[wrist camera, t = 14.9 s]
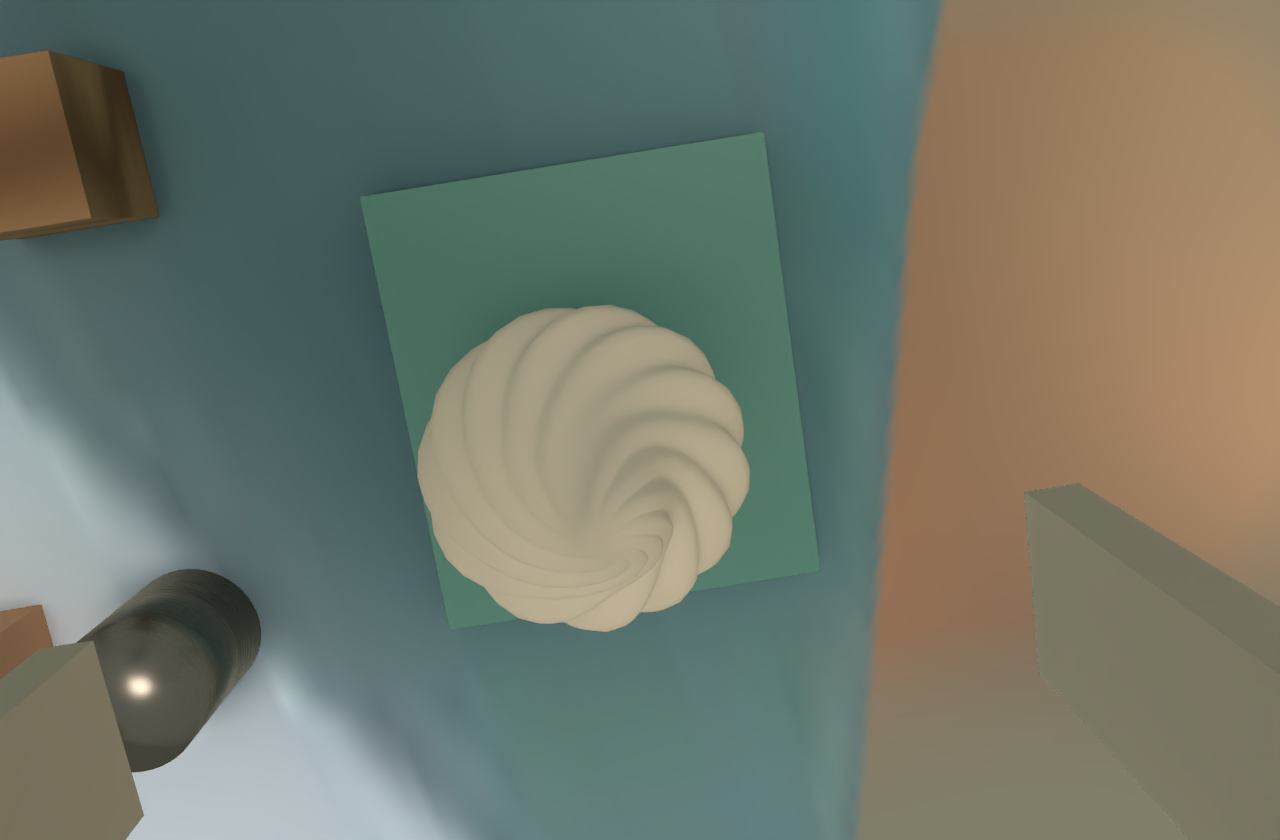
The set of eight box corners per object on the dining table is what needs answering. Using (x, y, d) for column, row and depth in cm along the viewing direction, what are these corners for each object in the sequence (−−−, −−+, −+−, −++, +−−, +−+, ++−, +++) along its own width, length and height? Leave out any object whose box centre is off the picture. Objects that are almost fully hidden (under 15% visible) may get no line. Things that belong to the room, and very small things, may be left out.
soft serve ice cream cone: (459, 482, 38) (348, 677, 22) (498, 253, 36) (410, 288, 20) (684, 524, 38) (734, 744, 22) (733, 300, 36) (823, 370, 21)
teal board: (369, 197, 37) (359, 196, 35) (757, 134, 37) (763, 131, 35) (455, 614, 40) (449, 630, 39) (812, 558, 40) (820, 571, 39)
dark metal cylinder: (115, 580, 40) (28, 644, 34) (244, 559, 40) (179, 621, 34) (147, 699, 41) (69, 783, 35) (273, 680, 41) (216, 759, 35)
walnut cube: (-18, 94, 36) (-117, 76, 31) (124, 71, 36) (48, 50, 31) (22, 238, 37) (-68, 243, 32) (160, 216, 37) (91, 217, 32)
